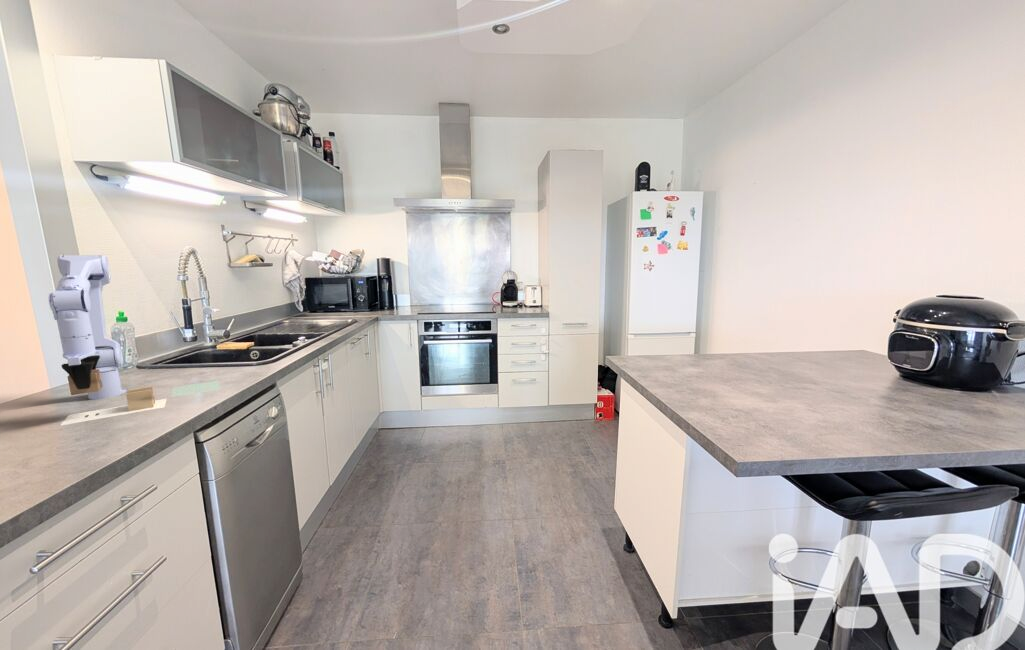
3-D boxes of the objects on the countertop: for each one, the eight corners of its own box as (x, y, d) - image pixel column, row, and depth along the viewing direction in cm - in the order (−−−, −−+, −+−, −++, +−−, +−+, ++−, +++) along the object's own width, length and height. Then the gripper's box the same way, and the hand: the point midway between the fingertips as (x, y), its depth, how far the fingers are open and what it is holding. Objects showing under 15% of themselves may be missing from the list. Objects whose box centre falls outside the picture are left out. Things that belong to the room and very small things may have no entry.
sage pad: (173, 389, 128) (173, 387, 128) (218, 382, 136) (218, 380, 136) (171, 399, 119) (171, 397, 119) (220, 391, 127) (219, 389, 126)
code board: (69, 416, 106) (69, 414, 106) (166, 400, 118) (166, 398, 118) (60, 427, 99) (59, 425, 99) (164, 409, 111) (164, 406, 111)
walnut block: (75, 390, 105) (72, 372, 104) (102, 386, 108) (99, 369, 107) (71, 395, 101) (67, 376, 100) (98, 391, 104) (95, 373, 103)
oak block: (131, 406, 112) (128, 389, 111) (154, 402, 115) (152, 385, 114) (129, 411, 108) (126, 394, 107) (153, 407, 111) (150, 390, 110)
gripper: (93, 338, 99) (102, 389, 101) (103, 330, 110) (112, 376, 112) (51, 342, 94) (61, 395, 97) (66, 333, 106) (76, 381, 108)
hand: (86, 385), depth 104 cm, fingers closed on walnut block, 5 cm apart
